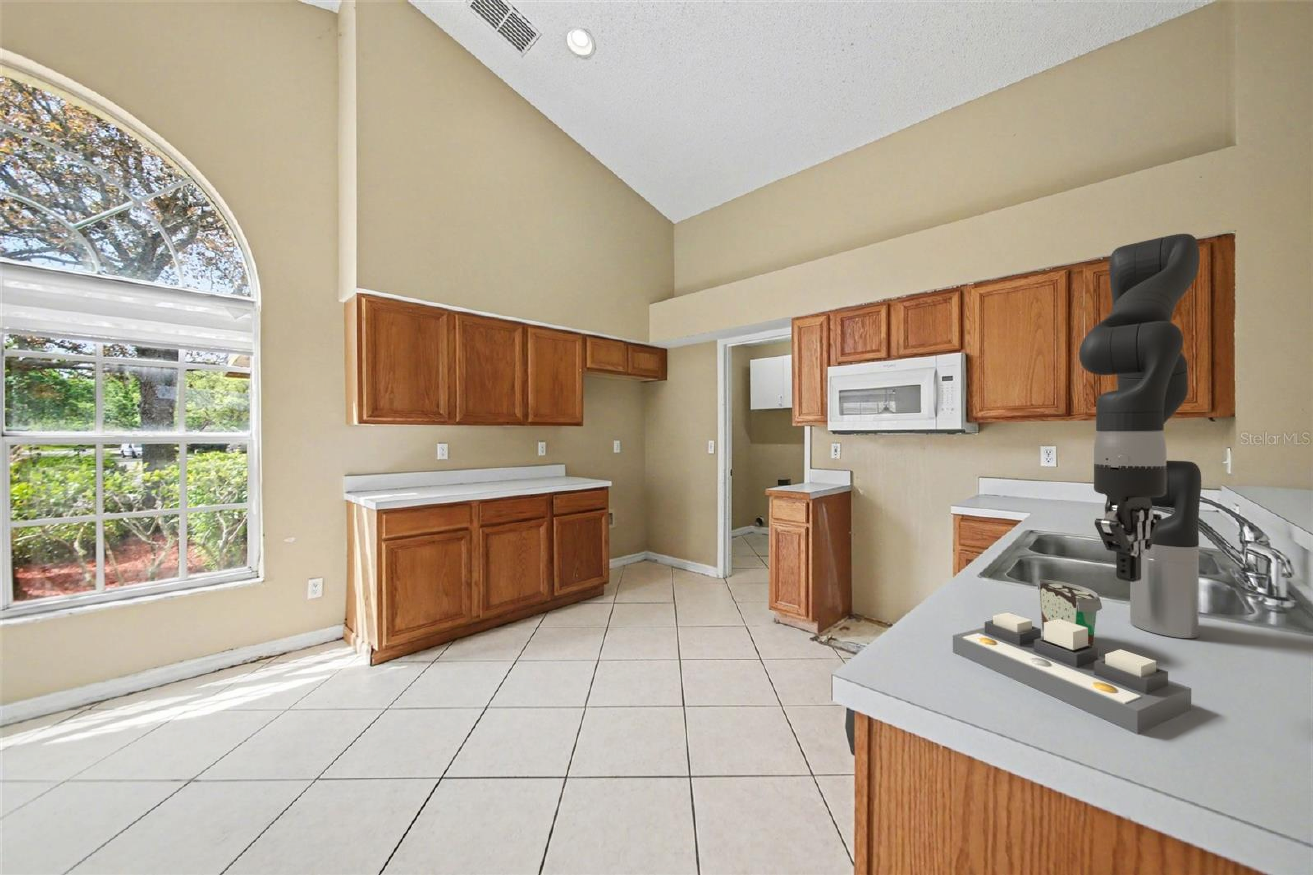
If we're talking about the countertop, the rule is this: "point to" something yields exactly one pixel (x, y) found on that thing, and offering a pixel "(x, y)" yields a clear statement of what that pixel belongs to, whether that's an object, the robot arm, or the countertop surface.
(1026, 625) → the button left
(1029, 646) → the button board
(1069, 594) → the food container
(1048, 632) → the button middle
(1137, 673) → the button right
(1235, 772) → the countertop surface
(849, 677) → the countertop surface
